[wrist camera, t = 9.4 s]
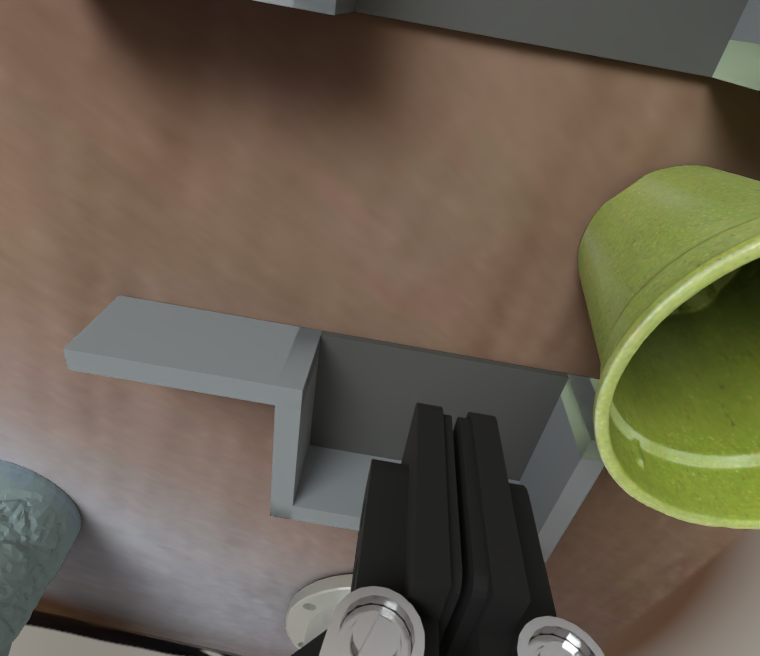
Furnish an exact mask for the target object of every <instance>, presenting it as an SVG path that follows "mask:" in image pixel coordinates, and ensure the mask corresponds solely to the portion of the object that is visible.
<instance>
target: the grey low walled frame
mask: <svg viewBox="0 0 760 656" xmlns="http://www.w3.org/2000/svg"><path fill="white" fill-rule="evenodd" d="M254 1H259V2H265V3H270V4H276V5H281V6H287V7H292V8H298V9H303V10H308V11H314V12H319V13H325V14H330V15H339V14H344V13H350V12H360V13H365V14H371V15H376V16H381V17H387V18H392V19H398V20H403V21H409V22H414V23H419V24H425V25H430V26H436V27H441V28H447V29H452V30H457V31H463V32H468V33H474V34H479V35H485V36H490V37H496V38H501V39H506V40H512V41H517V42H523V43H528V44H534V45H539V46H544V47H550V48H555V49H561V50H566V51H572V52H577V53H582V54H588V55H593V56H599V57H604V58H610V59H615V60H621V61H626V62H631V63H637V64H642V65H648V66H653V67H659V68H664V69H669V70H675V71H680V72H686V73H691V74H697V75H702V76H707V77H713V78H716V79H720V80H723V81H727V82H730V83H733V84H737V85H740V86H744V87H747V88H751V89H754V90H758V91H760V0H254ZM63 351H64V355H65V359H66V363H67V367H68V370H73V371H79V372H85V373H90V374H96V375H102V376H108V377H114V378H119V379H125V380H131V381H137V382H143V383H148V384H154V385H160V386H166V387H172V388H177V389H183V390H189V391H195V392H200V393H206V394H212V395H218V396H224V397H229V398H235V399H241V400H247V401H253V402H258V403H264V404H270V405H275V419H274V441H273V463H272V485H271V507H270V516H274V517H280V518H286V519H292V520H297V521H303V522H309V523H315V524H321V525H327V526H333V527H339V528H345V529H351V530H356V531H359V526H360V519H361V512H362V506H363V500H364V494H365V489H366V484H367V479H368V474H369V469H370V464H371V460H372V459H376V460H382V461H388V462H393V463H399V464H401V462H402V458H403V454H404V450H405V445H406V441H407V437H408V433H409V429H410V425H411V421H412V417H413V413H414V409H415V406H416V403H417V402H418V403H423V404H429V405H435V406H440V407H442V408H443V414H446V415H451V416H452V426H453V430H454V426H455V423H456V420H457V418H458V417H463V418H466V416H467V414H468V412H474V413H480V414H486V415H491V416H495V417H496V419H497V423H498V428H499V434H500V439H501V444H502V450H503V455H504V460H505V466H506V471H507V476H508V482H509V483H513V484H519V485H524V486H525V487H526V489H527V491H528V494H529V498H530V502H531V506H532V511H533V515H534V520H535V524H536V528H537V533H538V537H539V542H540V546H541V550H542V555H543V559H544V562H545V563H546V561H547V560H548V558H549V556H550V555H551V553H552V551H553V550H554V548H555V547H556V545H557V543H558V542H559V540H560V538H561V537H562V535H563V533H564V532H565V530H566V528H567V527H568V525H569V524H570V522H571V520H572V519H573V517H574V515H575V514H576V512H577V510H578V509H579V507H580V505H581V504H582V502H583V500H584V499H585V497H586V496H587V494H588V492H589V491H590V489H591V487H592V486H593V484H594V482H595V481H596V479H597V477H598V476H599V474H600V472H601V471H602V469H603V468H604V466H605V465H604V463H603V461H602V459H601V456H600V453H599V450H598V447H597V443H596V439H595V435H594V427H593V406H594V398H595V394H596V390H597V386H598V382H599V379H594V378H589V377H583V376H577V375H572V374H566V373H560V372H554V371H549V370H543V369H537V368H532V367H526V366H520V365H514V364H509V363H503V362H497V361H492V360H486V359H480V358H474V357H469V356H463V355H457V354H452V353H446V352H440V351H435V350H429V349H423V348H417V347H412V346H406V345H400V344H395V343H389V342H383V341H377V340H372V339H366V338H360V337H355V336H349V335H343V334H337V333H332V332H326V331H320V330H315V329H309V328H303V327H297V326H292V325H286V324H280V323H275V322H269V321H263V320H257V319H252V318H246V317H240V316H235V315H229V314H223V313H217V312H212V311H206V310H200V309H195V308H189V307H183V306H177V305H172V304H166V303H160V302H155V301H149V300H143V299H137V298H132V297H126V296H120V295H119V296H118V297H117V298H116V299H115V300H114V301H112V302H111V303H110V304H109V305H108V306H107V307H106V308H105V309H104V310H103V311H102V312H101V313H100V314H99V315H98V316H97V317H96V318H95V319H94V320H93V321H92V322H90V323H89V324H88V325H87V326H86V327H85V328H84V329H83V330H82V331H81V332H80V333H79V334H78V335H77V336H76V337H75V338H74V339H73V340H72V341H71V342H70V343H69V344H67V345H66V346H65V347H64V348H63Z"/></svg>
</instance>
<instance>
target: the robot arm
mask: <svg viewBox="0 0 760 656" xmlns="http://www.w3.org/2000/svg"><path fill="white" fill-rule="evenodd" d="M285 628H286V631H287V635H288V636H289V638H290V639H291V641H292V642H293V644H294V645H295V646H296V647H297V648H298V649H299V650H298V651H297V652H295V653H294V654H292V655H291V656H604V654H603V652H602V650H601V649H600V647H599V646H598V645H597V644H596V643H595V642H594V640H593V639H592V638H591V637H590V636H589V635H588V634H587V633H585V632H584V631H583V630H582V629H580V628H579V627H578V626H576V625H575V624H573V623H571V622H568V621H566V620H564V619H562V618H557V616H556V612H555V608H554V603H553V599H552V594H551V590H550V586H549V581H548V577H547V572H546V568H545V564H544V559H543V555H542V550H541V546H540V542H539V537H538V533H537V528H536V524H535V520H534V515H533V511H532V506H531V502H530V498H529V494H528V491H527V489H526V487H525V486H524V485H519V484H513V483H509V482H508V476H507V471H506V466H505V460H504V455H503V450H502V444H501V439H500V434H499V428H498V423H497V419H496V417H495V416H491V415H486V414H480V413H474V412H468V414H467V416H466V418H463V417H458V418H457V420H456V423H455V426H454V430H453V426H452V416H451V415H446V414H443V408H442V407H440V406H435V405H429V404H423V403H418V402H417V403H416V406H415V409H414V413H413V417H412V421H411V425H410V429H409V433H408V437H407V441H406V445H405V450H404V454H403V458H402V462H401V464H399V463H393V462H388V461H382V460H376V459H372V460H371V464H370V469H369V474H368V479H367V484H366V489H365V494H364V500H363V506H362V512H361V519H360V526H359V533H358V541H357V548H356V555H355V562H354V570H353V574H345V575H338V576H332V577H328V578H325V579H321V580H318V581H316V582H314V583H312V584H309V585H307V586H305V587H304V588H303V589H301V590H300V591H299V592H297V593H296V594H295V596H294V597H293V598H292V600H291V601H290V604H289V607H288V611H287V615H286V620H285Z"/></svg>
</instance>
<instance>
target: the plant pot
mask: <svg viewBox="0 0 760 656" xmlns="http://www.w3.org/2000/svg"><path fill="white" fill-rule="evenodd" d="M578 272H579V277H580V281H581V285H582V290H583V293H584V297H585V301H586V305H587V309H588V313H589V318H590V322H591V326H592V330H593V334H594V338H595V343H596V347H597V351H598V355H599V359H600V363H601V367H600V379H599V382H598V386H597V390H596V394H595V398H594V406H593V427H594V435H595V439H596V443H597V447H598V450H599V453H600V456H601V459H602V461H603V463H604V465H605V467H606V469H607V471H608V472H609V474H610V475H611V476H612V478H613V479H614V480H615V481H616V483H617V484H618V485H619V486H620V487H621V488H622V489H623V490H624V491H625V492H627V493H628V494H629V495H630V496H632V497H633V498H635V499H636V500H638V501H639V502H641V503H643V504H645V505H646V506H648V507H651V508H653V509H655V510H657V511H659V512H661V513H663V514H666V515H668V516H671V517H674V518H676V519H679V520H683V521H686V522H690V523H695V524H701V525H706V526H712V527H728V528H733V529H760V181H757V180H754V179H750V178H747V177H744V176H740V175H737V174H733V173H729V172H725V171H722V170H719V169H715V168H711V167H707V166H699V165H686V166H676V167H670V168H665V169H661V170H658V171H654V172H652V173H649V174H647V175H645V176H643V177H642V178H641V179H639V180H638V181H637V182H635V183H634V184H632V185H631V186H629V187H628V188H627V189H625V190H624V191H622V192H621V193H619V194H618V195H616V196H615V197H613V198H612V199H610V200H609V201H607V202H606V203H604V205H603V206H602V207H601V208H600V209H599V210H598V211H597V213H596V214H595V215H594V217H593V218H592V220H591V221H590V223H589V225H588V226H587V228H586V231H585V233H584V235H583V237H582V240H581V243H580V247H579V252H578Z"/></svg>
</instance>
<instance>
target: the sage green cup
mask: <svg viewBox="0 0 760 656" xmlns="http://www.w3.org/2000/svg"><path fill="white" fill-rule="evenodd" d="M80 529H81V516H80V513H79V510H78V508H77V507H76V505H75V503H74V502H73V501H72V500H71V499H70V497H69V496H68V495H67V494H66V493H65V492H64V491H63V490H61V489H60V488H59V487H58V486H56V485H55V484H54V483H52V482H51V481H49V480H48V479H46V478H45V477H43V476H41V475H39V474H37V473H35V472H33V471H31V470H29V469H27V468H24V467H22V466H19V465H16V464H13V463H10V462H6V461H2V460H0V656H8V654H9V651H10V648H11V644H12V642H13V641H14V640H15V639H16V637H17V636H18V635H19V633H20V631H21V630H22V628H23V627H24V626H25V624H26V623H27V621H28V620H29V619H30V617H31V613H32V611H33V610H34V608H35V607H36V606H37V604H38V602H39V600H40V598H41V597H42V595H43V593H44V591H45V589H46V586H47V585H48V584H49V583H50V582H51V581H52V579H53V578H54V577H55V575H56V574H57V572H58V570H59V569H60V567H61V565H62V563H63V562H64V560H65V558H66V556H67V555H68V553H69V551H70V549H71V548H72V546H73V544H74V542H75V540H76V539H77V537H78V535H79V532H80Z"/></svg>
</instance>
